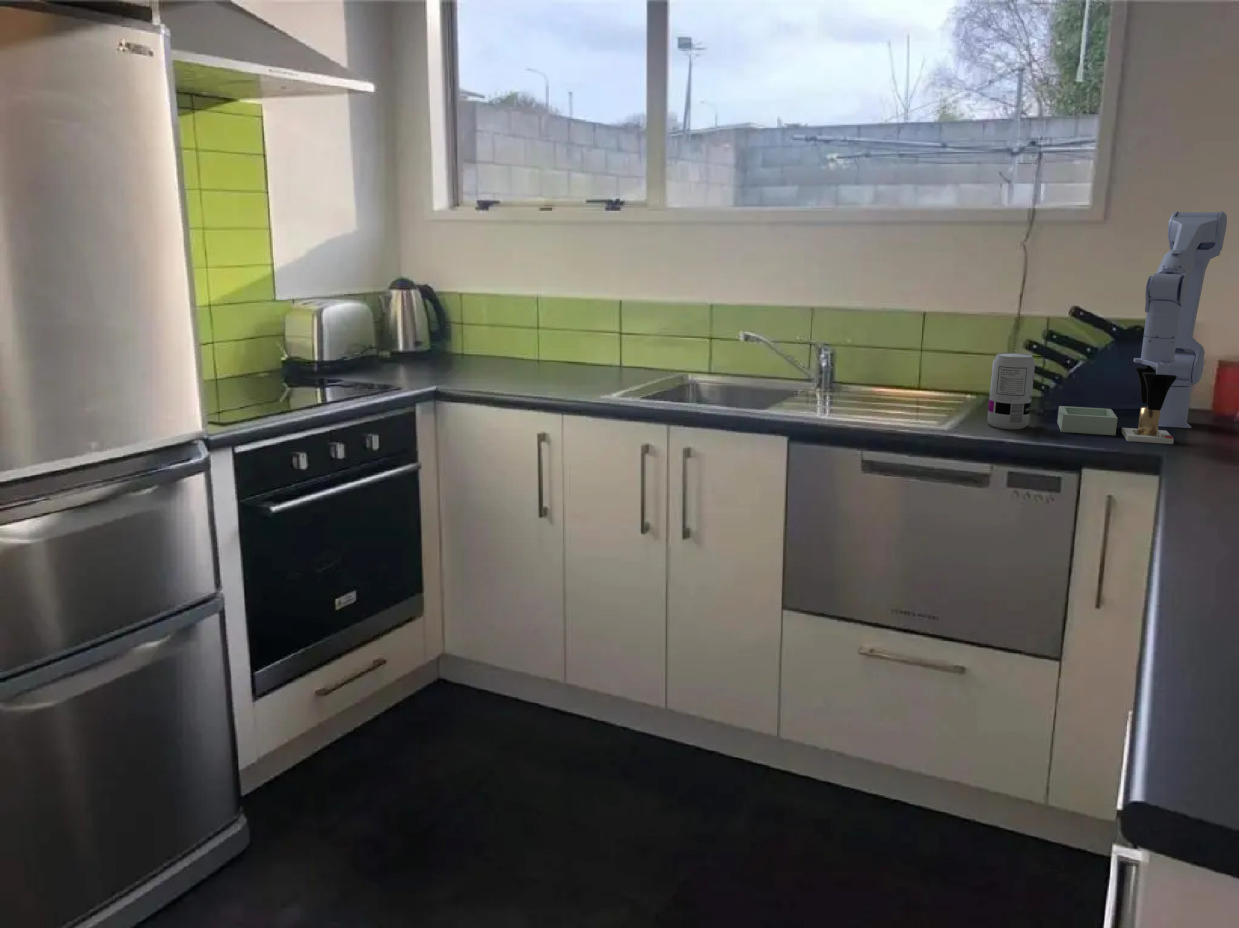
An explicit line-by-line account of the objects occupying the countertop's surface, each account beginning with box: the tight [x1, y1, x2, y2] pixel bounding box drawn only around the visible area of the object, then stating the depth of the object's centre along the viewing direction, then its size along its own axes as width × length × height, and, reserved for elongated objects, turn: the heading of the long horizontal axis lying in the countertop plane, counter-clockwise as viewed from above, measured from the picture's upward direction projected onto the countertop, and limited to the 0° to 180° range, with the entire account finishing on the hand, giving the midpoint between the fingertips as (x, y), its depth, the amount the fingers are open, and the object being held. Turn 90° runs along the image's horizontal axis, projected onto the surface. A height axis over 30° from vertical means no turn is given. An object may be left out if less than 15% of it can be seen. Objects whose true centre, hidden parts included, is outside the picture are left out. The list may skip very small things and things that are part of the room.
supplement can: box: [986, 352, 1036, 430], centre depth 210 cm, size 8×8×15 cm
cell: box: [1137, 406, 1161, 436], centre depth 198 cm, size 4×4×6 cm
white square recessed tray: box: [1121, 427, 1175, 445], centre depth 199 cm, size 8×8×2 cm
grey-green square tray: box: [1056, 405, 1118, 436], centre depth 207 cm, size 10×10×4 cm
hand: (1150, 406), depth 197 cm, fingers open, 7 cm apart
